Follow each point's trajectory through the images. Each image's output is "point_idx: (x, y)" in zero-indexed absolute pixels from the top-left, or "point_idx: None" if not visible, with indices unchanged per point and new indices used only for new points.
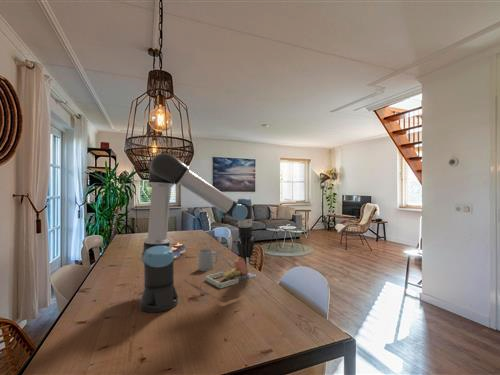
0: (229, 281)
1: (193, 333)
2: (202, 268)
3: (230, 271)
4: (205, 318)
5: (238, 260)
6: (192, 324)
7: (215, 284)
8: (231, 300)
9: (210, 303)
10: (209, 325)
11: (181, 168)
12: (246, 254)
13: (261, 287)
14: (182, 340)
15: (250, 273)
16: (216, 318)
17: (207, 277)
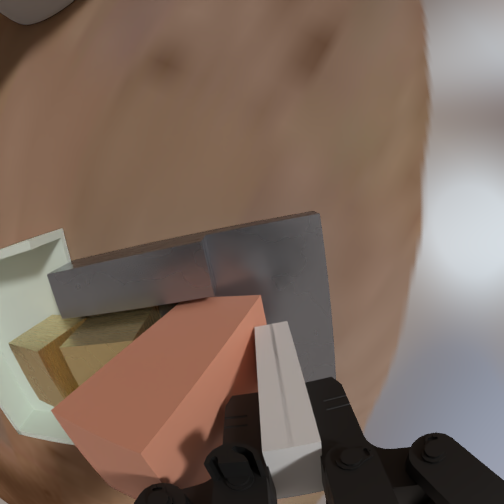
0: (63, 440)
1: (18, 494)
2: (5, 15)
3: (58, 394)
4: (25, 485)
5: (116, 478)
6: (7, 479)
7: (2, 385)
8: (82, 483)
9: (19, 453)
10: (38, 501)
11: None
12: (342, 490)
13: None
14: (8, 491)
15: (318, 316)
16: (48, 499)
17: None
